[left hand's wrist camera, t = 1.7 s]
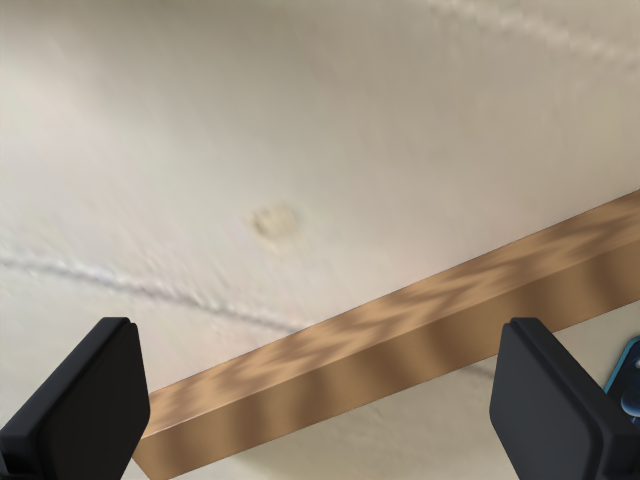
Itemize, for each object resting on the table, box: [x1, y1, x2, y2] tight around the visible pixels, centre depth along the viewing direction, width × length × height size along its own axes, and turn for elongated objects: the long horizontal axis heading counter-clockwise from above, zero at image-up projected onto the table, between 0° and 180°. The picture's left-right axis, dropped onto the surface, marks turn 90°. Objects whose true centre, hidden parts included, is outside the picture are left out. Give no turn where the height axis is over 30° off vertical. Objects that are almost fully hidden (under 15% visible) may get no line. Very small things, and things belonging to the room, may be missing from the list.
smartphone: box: [604, 337, 640, 430], centre depth 42 cm, size 8×1×15 cm
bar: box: [132, 190, 640, 480], centre depth 34 cm, size 66×5×6 cm, turn 115°
